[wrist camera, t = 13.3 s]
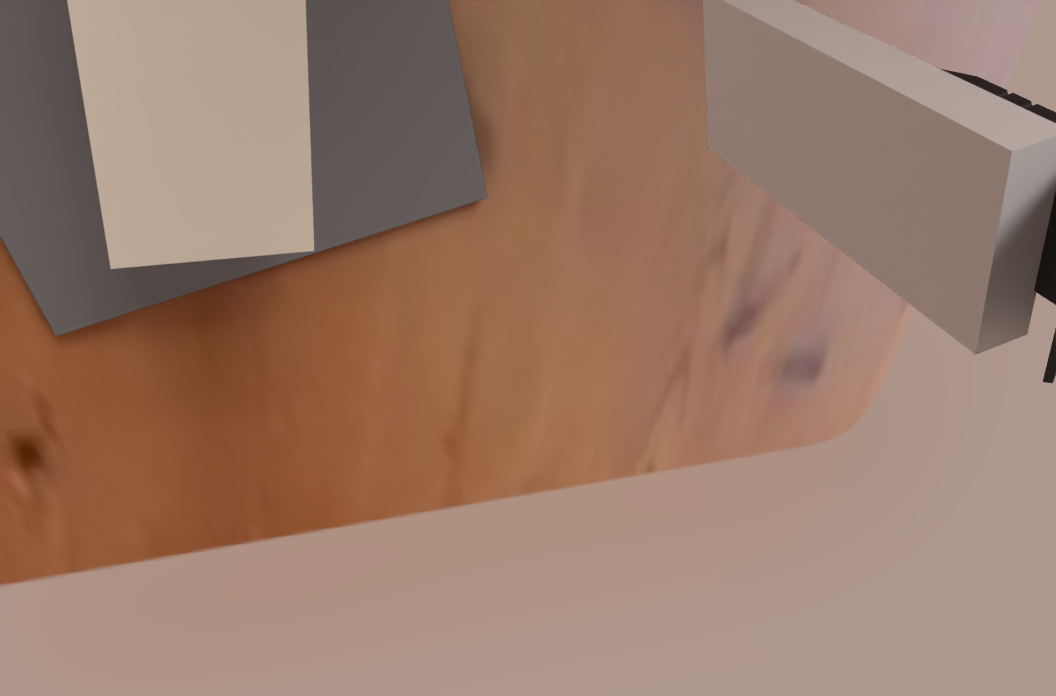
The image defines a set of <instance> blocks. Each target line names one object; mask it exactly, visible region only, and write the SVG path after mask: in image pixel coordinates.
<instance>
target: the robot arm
mask: <svg viewBox="0 0 1056 696" xmlns="http://www.w3.org/2000/svg"><path fill="white" fill-rule="evenodd" d="M703 18H704V49H705V80H706V111H707V142H708V149H709V150H711V151H712V152H713V153H715V154H716V155H717V156H719V157H720V158H721V159H722V160H724V161H725V162H726V163H728V164H729V165H730V166H732V167H733V168H734V169H735V170H737V171H738V172H739V173H741V174H742V175H743V176H744V177H746V178H747V179H748V180H750V181H751V182H752V183H754V184H755V185H756V186H757V187H759V188H760V189H761V190H763V191H764V192H765V193H767V194H768V195H769V196H770V197H772V198H773V199H774V200H776V201H777V202H778V203H780V204H781V205H782V206H783V207H785V208H786V209H787V210H789V211H790V212H791V213H793V214H794V215H795V216H796V217H798V218H799V219H800V220H802V221H803V222H804V223H806V224H807V225H808V226H809V227H811V228H812V229H813V230H815V231H816V232H817V233H819V234H820V235H821V236H822V237H824V238H825V239H826V240H828V241H829V242H830V243H831V244H833V245H834V246H835V247H837V248H838V249H839V250H841V251H842V252H843V253H844V254H846V255H847V256H848V257H850V258H851V259H852V260H854V261H855V262H856V263H857V264H859V265H860V266H861V267H863V268H864V269H865V270H867V271H868V272H869V273H870V274H872V275H873V276H874V277H876V278H877V279H878V280H880V281H881V282H882V283H883V284H885V285H886V286H887V287H889V288H890V289H891V290H893V291H894V292H895V293H896V294H898V295H899V296H900V297H902V298H903V299H904V300H906V301H907V302H908V303H909V304H911V305H912V306H913V307H915V308H916V309H917V310H918V311H920V312H921V313H922V314H924V315H925V316H926V317H928V318H929V319H930V320H932V321H933V322H934V323H935V324H937V325H938V326H939V327H941V328H942V329H943V330H945V331H946V332H947V333H948V334H950V335H951V336H952V337H954V338H955V339H956V340H957V341H959V342H960V343H962V344H963V345H964V346H965V347H967V348H968V349H969V350H970V351H972V352H973V353H974V354H978V353H981V352H983V351H986V350H988V349H991V348H993V347H996V346H999V345H1001V344H1004V343H1006V342H1009V341H1011V340H1014V339H1016V338H1019V337H1021V336H1024V335H1027V333H1028V328H1029V323H1030V319H1031V314H1032V309H1033V305H1034V300H1035V296H1036V292H1037V293H1039V294H1040V295H1042V296H1043V297H1045V298H1046V299H1048V300H1049V301H1051V302H1053V303H1054V304H1055V305H1056V112H1054V111H1051V110H1049V109H1047V108H1045V107H1043V106H1040V105H1038V104H1036V105H1033V106H1032V104H1031V101H1030V100H1027V99H1025V98H1023V97H1021V96H1019V95H1017V94H1014V93H1011V94H1008V93H1007V90H1006V89H1003V88H1001V87H999V86H997V85H995V84H993V83H990V82H988V81H986V80H984V79H982V78H979V77H977V76H972V75H967V74H962V73H957V72H953V71H948V70H943V69H939V68H937V67H935V66H933V65H930V64H928V63H926V62H924V61H922V60H920V59H918V58H915V57H913V56H911V55H909V54H907V53H905V52H903V51H901V50H898V49H896V48H894V47H892V46H890V45H888V44H886V43H884V42H881V41H879V40H877V39H875V38H873V37H871V36H869V35H867V34H864V33H862V32H860V31H858V30H856V29H854V28H852V27H849V26H847V25H845V24H843V23H841V22H839V21H837V20H835V19H832V18H830V17H828V16H826V15H824V14H822V13H820V12H818V11H815V10H813V9H811V8H809V7H807V6H805V5H803V4H801V3H798V2H796V1H794V0H703ZM1055 375H1056V329H1055V334H1054V338H1053V342H1052V346H1051V350H1050V354H1049V358H1048V362H1047V367H1046V371H1045V375H1044V379H1043V382H1048V383H1053V381H1054V378H1055Z"/></svg>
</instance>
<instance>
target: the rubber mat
mask: <svg viewBox="0 0 1056 696" xmlns="http://www.w3.org/2000/svg"><path fill="white" fill-rule="evenodd" d="M306 27H307V56H308V85H309V113H310V142H311V171H312V199H313V228H314V251H308V252H296V253H285V254H274V255H263V256H251V257H240V258H229V259H218V260H206V261H195V262H184V263H172V264H161V265H150V266H139V267H127V268H116V269H111V268H110V262H109V255H108V249H107V243H106V237H105V231H104V225H103V218H102V212H101V206H100V200H99V194H98V188H97V182H96V175H95V169H94V163H93V157H92V151H91V145H90V138H89V132H88V126H87V120H86V114H85V108H84V102H83V95H82V89H81V83H80V77H79V71H78V65H77V58H76V52H75V46H74V40H73V34H72V28H71V21H70V15H69V9H68V3H67V0H0V237H1V239H2V241H3V242H4V244H5V246H6V248H7V250H8V251H9V253H10V255H11V257H12V258H13V260H14V262H15V264H16V266H17V267H18V269H19V271H20V273H21V274H22V276H23V278H24V280H25V282H26V283H27V285H28V287H29V289H30V291H31V292H32V294H33V296H34V298H35V299H36V301H37V303H38V305H39V307H40V308H41V310H42V312H43V314H44V315H45V317H46V319H47V321H48V323H49V324H50V326H51V328H52V330H53V332H54V333H55V335H56V336H58V335H61V334H65V333H68V332H71V331H74V330H77V329H80V328H83V327H86V326H90V325H93V324H96V323H99V322H102V321H105V320H108V319H111V318H114V317H118V316H121V315H124V314H127V313H130V312H133V311H136V310H139V309H142V308H146V307H149V306H152V305H155V304H158V303H161V302H164V301H167V300H170V299H174V298H177V297H180V296H183V295H186V294H189V293H192V292H195V291H199V290H202V289H205V288H208V287H211V286H214V285H217V284H220V283H223V282H227V281H230V280H233V279H236V278H239V277H242V276H245V275H248V274H251V273H255V272H258V271H261V270H264V269H267V268H270V267H273V266H276V265H279V264H283V263H286V262H289V261H292V260H295V259H298V258H301V257H304V256H308V255H311V254H314V253H317V252H320V251H323V250H326V249H329V248H332V247H336V246H339V245H342V244H345V243H348V242H351V241H354V240H357V239H360V238H364V237H367V236H370V235H373V234H376V233H379V232H382V231H385V230H388V229H392V228H395V227H398V226H401V225H404V224H407V223H410V222H413V221H417V220H420V219H423V218H426V217H429V216H432V215H435V214H438V213H441V212H445V211H448V210H451V209H454V208H457V207H460V206H463V205H466V204H469V203H473V202H476V201H479V200H482V199H485V198H487V193H486V188H485V183H484V177H483V172H482V167H481V162H480V157H479V152H478V147H477V142H476V137H475V132H474V127H473V122H472V117H471V112H470V107H469V102H468V97H467V92H466V87H465V82H464V77H463V72H462V67H461V62H460V57H459V52H458V47H457V42H456V36H455V31H454V26H453V21H452V16H451V11H450V6H449V1H448V0H306Z"/></svg>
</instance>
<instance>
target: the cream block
mask: <svg viewBox="0 0 1056 696" xmlns="http://www.w3.org/2000/svg"><path fill="white" fill-rule="evenodd" d="M67 3H68V9H69V15H70V21H71V28H72V34H73V40H74V46H75V52H76V58H77V65H78V71H79V77H80V83H81V89H82V95H83V102H84V108H85V114H86V120H87V126H88V132H89V138H90V145H91V151H92V157H93V163H94V169H95V175H96V182H97V188H98V194H99V200H100V206H101V212H102V218H103V225H104V231H105V237H106V243H107V249H108V255H109V262H110V268H111V269H116V268H127V267H139V266H150V265H161V264H172V263H184V262H195V261H206V260H218V259H229V258H240V257H251V256H263V255H274V254H285V253H296V252H308V251H314V228H313V199H312V171H311V142H310V113H309V85H308V56H307V27H306V0H67Z"/></svg>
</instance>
